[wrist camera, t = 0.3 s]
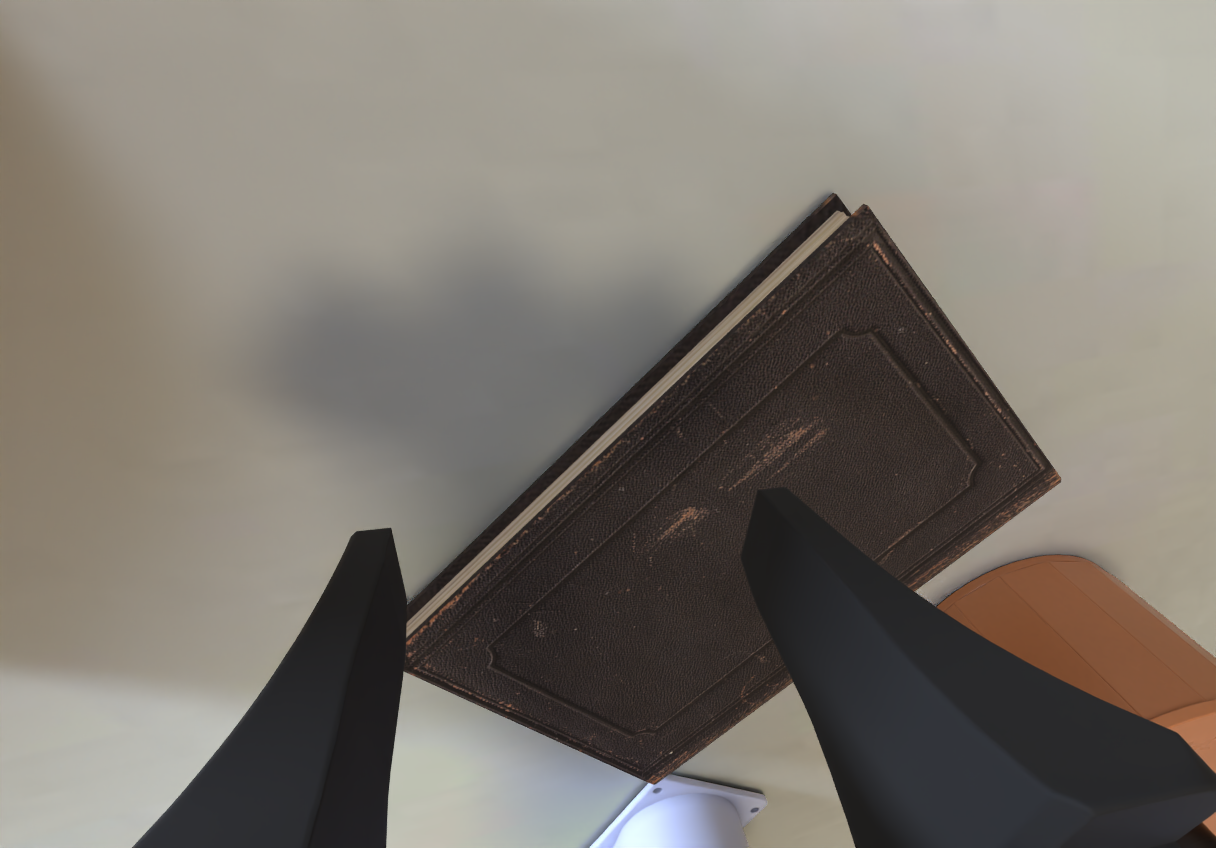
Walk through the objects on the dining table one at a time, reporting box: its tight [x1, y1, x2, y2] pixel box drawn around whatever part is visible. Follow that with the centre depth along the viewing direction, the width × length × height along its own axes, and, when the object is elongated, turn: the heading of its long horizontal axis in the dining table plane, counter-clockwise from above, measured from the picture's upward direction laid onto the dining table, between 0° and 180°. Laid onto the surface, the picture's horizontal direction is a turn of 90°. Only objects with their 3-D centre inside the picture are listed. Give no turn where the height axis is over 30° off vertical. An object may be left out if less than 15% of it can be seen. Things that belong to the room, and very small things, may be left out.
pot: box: [937, 555, 1216, 720], centre depth 31 cm, size 12×12×8 cm
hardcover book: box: [404, 193, 1061, 785], centre depth 26 cm, size 16×23×2 cm
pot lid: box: [1150, 699, 1216, 848], centre depth 25 cm, size 13×13×5 cm
